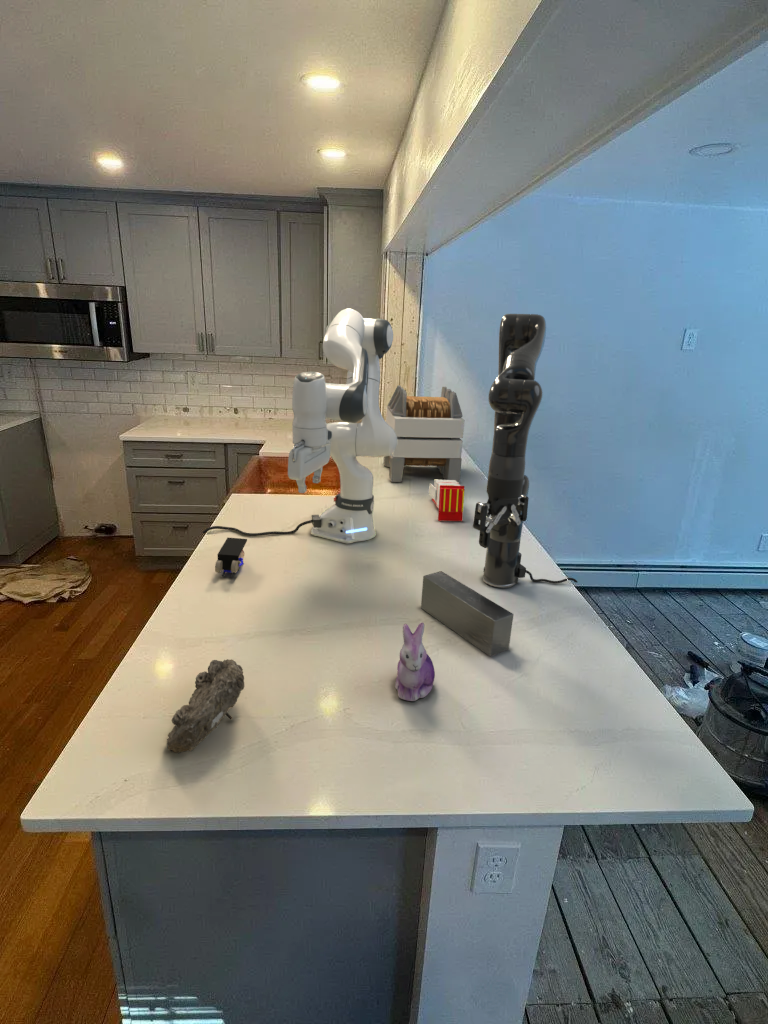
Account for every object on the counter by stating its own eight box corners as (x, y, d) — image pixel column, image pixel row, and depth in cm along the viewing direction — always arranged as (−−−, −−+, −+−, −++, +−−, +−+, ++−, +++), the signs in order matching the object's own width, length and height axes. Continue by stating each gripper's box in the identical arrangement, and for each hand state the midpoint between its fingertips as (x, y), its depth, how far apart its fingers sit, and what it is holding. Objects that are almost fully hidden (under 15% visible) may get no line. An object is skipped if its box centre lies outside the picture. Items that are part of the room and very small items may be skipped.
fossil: (192, 660, 117) (244, 628, 112) (224, 691, 120) (276, 661, 115) (142, 746, 98) (202, 712, 93) (182, 779, 101) (242, 748, 96)
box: (420, 608, 151) (423, 575, 148) (438, 602, 154) (441, 570, 151) (490, 656, 131) (494, 620, 128) (508, 649, 134) (513, 613, 131)
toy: (456, 475, 238) (469, 487, 209) (454, 506, 241) (466, 522, 212) (427, 474, 238) (436, 486, 209) (426, 505, 241) (434, 521, 211)
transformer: (382, 463, 289) (386, 382, 275) (445, 464, 293) (451, 384, 279) (390, 482, 257) (394, 392, 243) (460, 483, 261) (468, 394, 247)
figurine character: (238, 584, 162) (249, 557, 175) (236, 562, 158) (247, 536, 172) (215, 584, 161) (227, 556, 175) (212, 561, 158) (225, 535, 171)
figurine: (406, 709, 112) (411, 644, 107) (383, 680, 121) (386, 618, 116) (446, 696, 116) (452, 633, 111) (420, 669, 125) (425, 609, 120)
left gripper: (304, 446, 137) (305, 500, 142) (334, 430, 156) (334, 478, 161) (280, 443, 139) (282, 497, 143) (313, 428, 157) (313, 476, 162)
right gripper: (494, 482, 115) (486, 555, 120) (542, 473, 123) (532, 542, 128) (469, 473, 121) (462, 543, 126) (516, 465, 128) (508, 531, 134)
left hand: (309, 487), depth 152 cm, fingers open, 8 cm apart
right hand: (497, 543), depth 127 cm, fingers open, 8 cm apart
